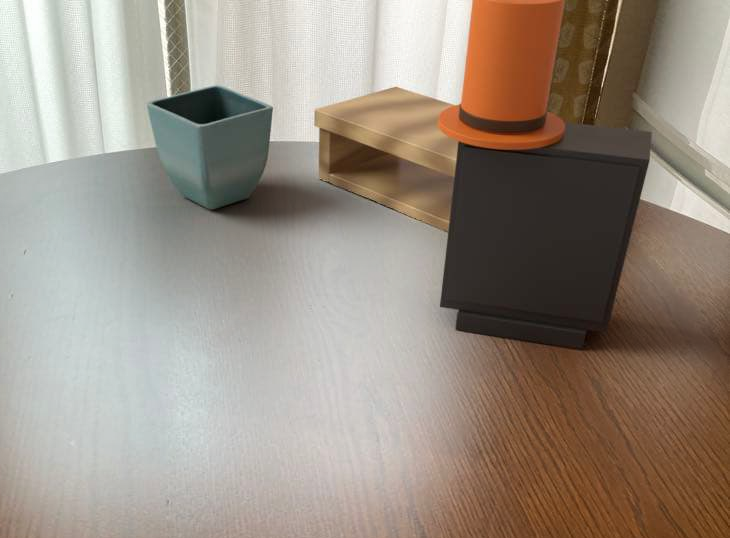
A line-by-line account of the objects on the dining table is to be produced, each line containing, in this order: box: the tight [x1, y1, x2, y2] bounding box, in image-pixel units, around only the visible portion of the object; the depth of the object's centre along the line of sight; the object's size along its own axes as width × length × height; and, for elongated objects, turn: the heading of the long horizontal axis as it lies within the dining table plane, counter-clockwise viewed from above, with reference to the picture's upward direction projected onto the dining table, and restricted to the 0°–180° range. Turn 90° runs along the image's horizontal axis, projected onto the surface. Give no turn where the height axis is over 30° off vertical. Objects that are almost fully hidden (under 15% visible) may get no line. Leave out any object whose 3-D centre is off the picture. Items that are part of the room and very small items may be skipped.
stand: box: [313, 86, 458, 233], centre depth 92 cm, size 22×12×7 cm, turn 44°
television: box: [439, 121, 653, 351], centre depth 70 cm, size 7×13×14 cm, turn 74°
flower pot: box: [146, 84, 274, 211], centre depth 89 cm, size 9×9×9 cm
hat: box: [438, 0, 566, 150], centre depth 63 cm, size 9×9×8 cm
